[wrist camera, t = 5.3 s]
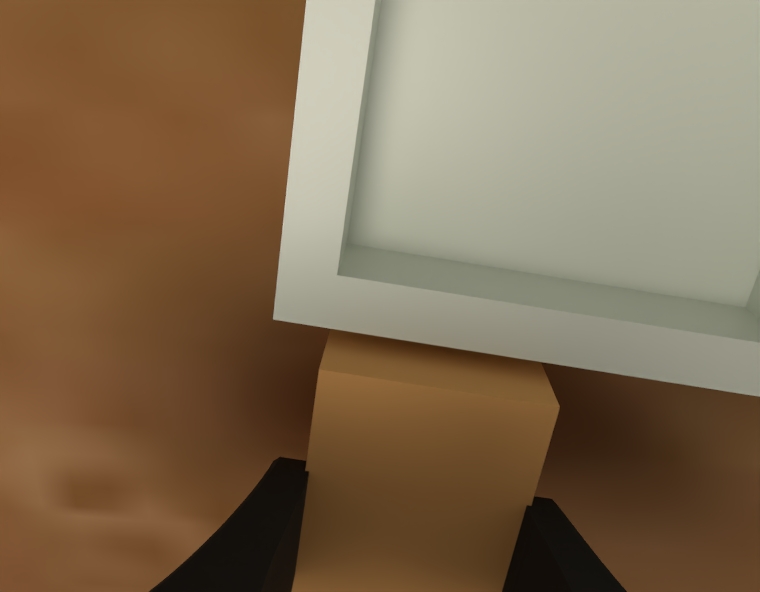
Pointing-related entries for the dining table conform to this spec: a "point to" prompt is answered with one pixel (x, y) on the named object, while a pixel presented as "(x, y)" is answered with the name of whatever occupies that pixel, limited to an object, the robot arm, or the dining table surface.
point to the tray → (532, 182)
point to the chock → (419, 466)
